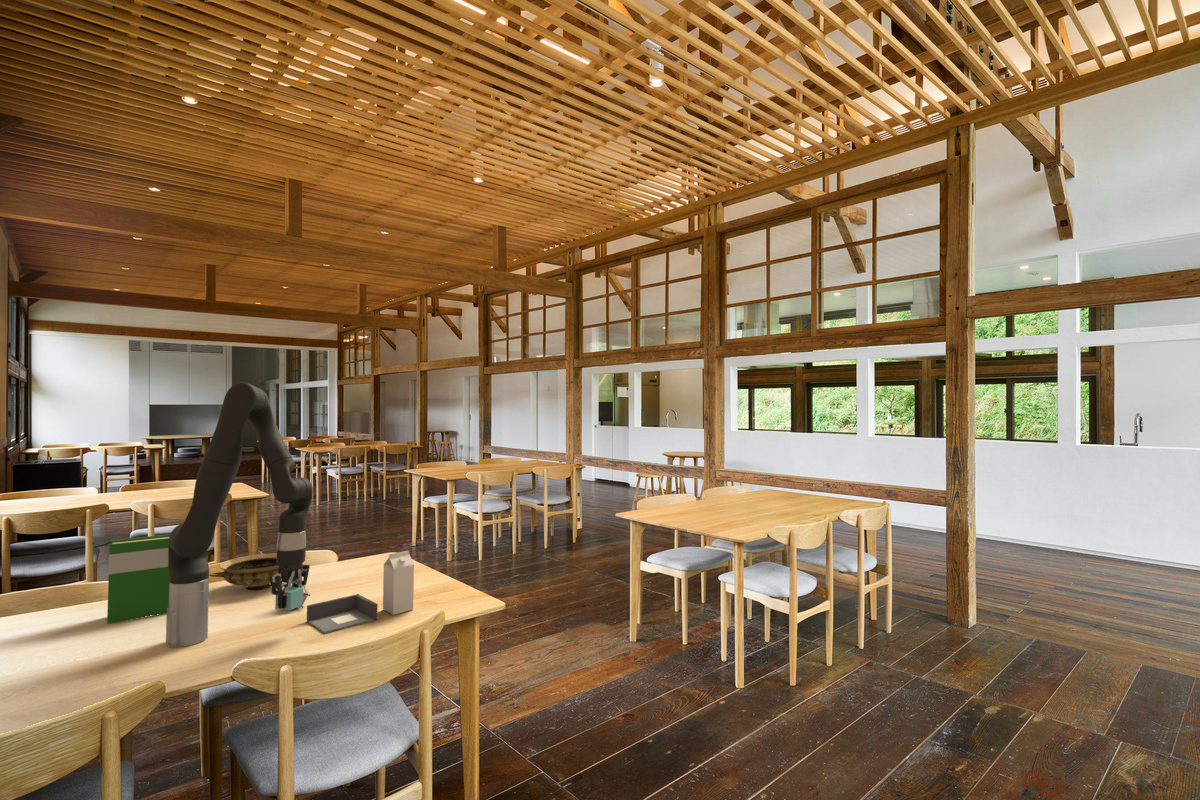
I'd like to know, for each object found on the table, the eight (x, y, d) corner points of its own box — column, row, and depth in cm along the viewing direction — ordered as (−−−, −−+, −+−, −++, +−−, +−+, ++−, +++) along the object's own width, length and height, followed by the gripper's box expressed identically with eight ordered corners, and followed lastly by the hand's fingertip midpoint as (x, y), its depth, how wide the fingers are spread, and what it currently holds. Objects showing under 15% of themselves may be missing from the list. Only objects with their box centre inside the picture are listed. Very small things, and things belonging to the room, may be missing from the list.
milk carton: (382, 610, 189) (383, 552, 189) (402, 604, 194) (403, 548, 194) (393, 615, 184) (394, 556, 184) (413, 610, 189) (414, 552, 190)
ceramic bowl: (296, 573, 230) (297, 548, 230) (310, 588, 211) (311, 561, 211) (205, 587, 211) (206, 560, 211) (212, 604, 192) (213, 574, 192)
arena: (324, 634, 168) (324, 616, 168) (306, 621, 178) (307, 605, 178) (377, 620, 180) (377, 604, 180) (357, 609, 189) (358, 593, 189)
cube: (290, 610, 164) (291, 592, 164) (275, 608, 165) (275, 591, 165) (302, 604, 169) (303, 587, 169) (287, 603, 170) (288, 586, 170)
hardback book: (107, 623, 174) (109, 544, 175) (107, 616, 180) (109, 540, 180) (178, 611, 186) (180, 537, 186) (177, 605, 191) (179, 533, 192)
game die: (296, 620, 189) (293, 602, 183) (275, 609, 190) (272, 590, 185) (317, 600, 196) (314, 581, 190) (297, 589, 198) (294, 571, 192)
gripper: (285, 553, 160) (282, 614, 159) (319, 542, 174) (316, 598, 174) (261, 551, 161) (259, 612, 161) (297, 540, 175) (294, 596, 175)
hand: (289, 604), depth 167 cm, fingers closed on cube, 5 cm apart
